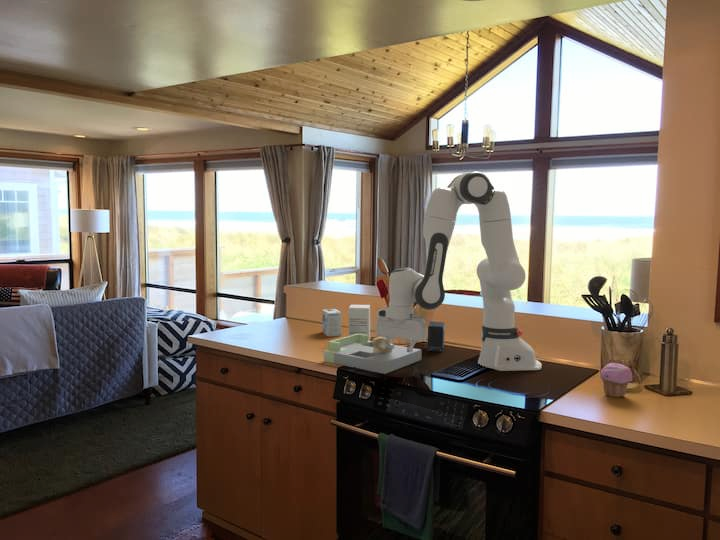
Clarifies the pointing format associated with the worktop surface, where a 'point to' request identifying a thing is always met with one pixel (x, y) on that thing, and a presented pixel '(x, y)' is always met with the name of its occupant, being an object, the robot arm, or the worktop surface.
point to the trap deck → (368, 355)
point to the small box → (436, 336)
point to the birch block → (381, 345)
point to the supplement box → (359, 320)
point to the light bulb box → (331, 322)
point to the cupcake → (615, 379)
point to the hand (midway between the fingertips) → (400, 350)
